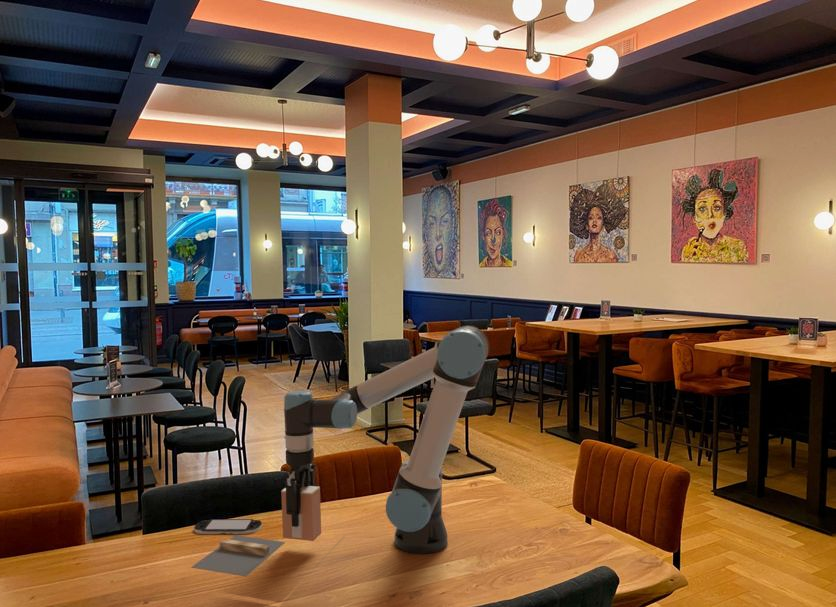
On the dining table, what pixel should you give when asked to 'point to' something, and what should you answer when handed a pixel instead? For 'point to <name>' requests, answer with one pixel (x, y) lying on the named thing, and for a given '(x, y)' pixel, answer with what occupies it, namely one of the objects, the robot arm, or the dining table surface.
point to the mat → (237, 558)
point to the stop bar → (244, 547)
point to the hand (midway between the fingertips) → (302, 532)
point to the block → (304, 514)
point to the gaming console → (228, 526)
